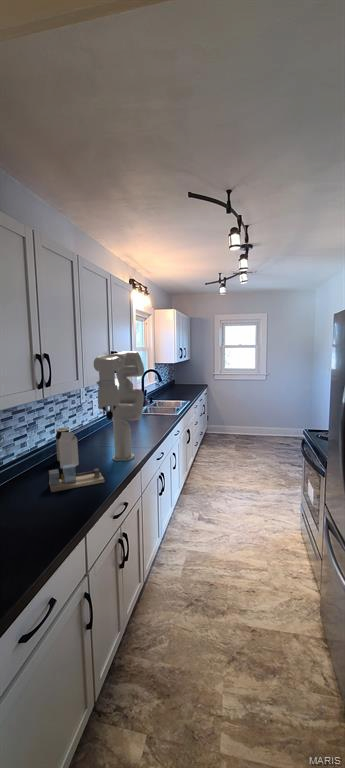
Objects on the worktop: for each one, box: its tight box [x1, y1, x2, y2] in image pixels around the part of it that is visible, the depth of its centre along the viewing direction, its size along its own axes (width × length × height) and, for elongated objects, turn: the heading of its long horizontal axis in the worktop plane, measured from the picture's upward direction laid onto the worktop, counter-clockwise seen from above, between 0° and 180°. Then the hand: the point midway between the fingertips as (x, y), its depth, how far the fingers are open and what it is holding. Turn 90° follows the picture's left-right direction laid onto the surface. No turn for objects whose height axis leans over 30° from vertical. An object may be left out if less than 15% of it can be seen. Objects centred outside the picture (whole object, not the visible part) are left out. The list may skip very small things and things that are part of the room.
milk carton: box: [59, 431, 80, 470], centre depth 187 cm, size 7×7×19 cm
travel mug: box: [55, 427, 70, 462], centre depth 199 cm, size 8×8×18 cm
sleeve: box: [62, 463, 77, 484], centre depth 162 cm, size 6×5×7 cm
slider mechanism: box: [48, 467, 106, 493], centre depth 164 cm, size 10×24×8 cm, turn 114°
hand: (109, 419), depth 174 cm, fingers closed
